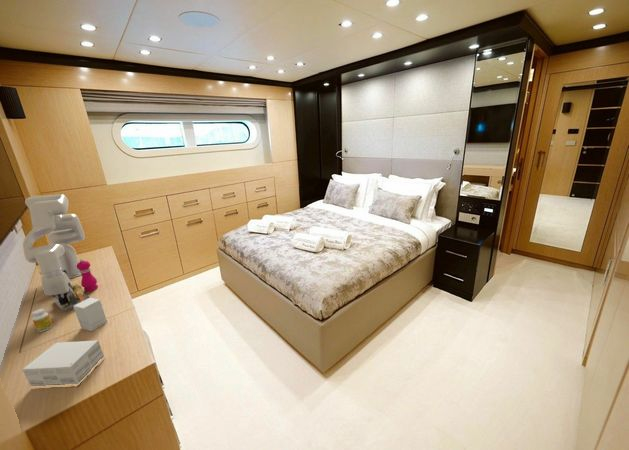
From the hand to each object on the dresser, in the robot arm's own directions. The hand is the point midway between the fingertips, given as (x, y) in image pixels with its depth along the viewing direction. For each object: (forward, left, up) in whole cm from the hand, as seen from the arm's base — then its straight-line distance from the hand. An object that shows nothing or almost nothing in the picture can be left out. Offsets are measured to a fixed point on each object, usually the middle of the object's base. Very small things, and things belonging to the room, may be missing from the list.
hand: (64, 303), depth 138 cm
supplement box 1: (+57, -12, -4) cm, 58 cm away
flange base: (-5, +4, -3) cm, 7 cm away
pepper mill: (-13, +14, -3) cm, 20 cm away
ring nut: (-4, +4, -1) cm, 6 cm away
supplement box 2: (+30, +3, -3) cm, 31 cm away
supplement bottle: (+12, -11, -3) cm, 17 cm away
